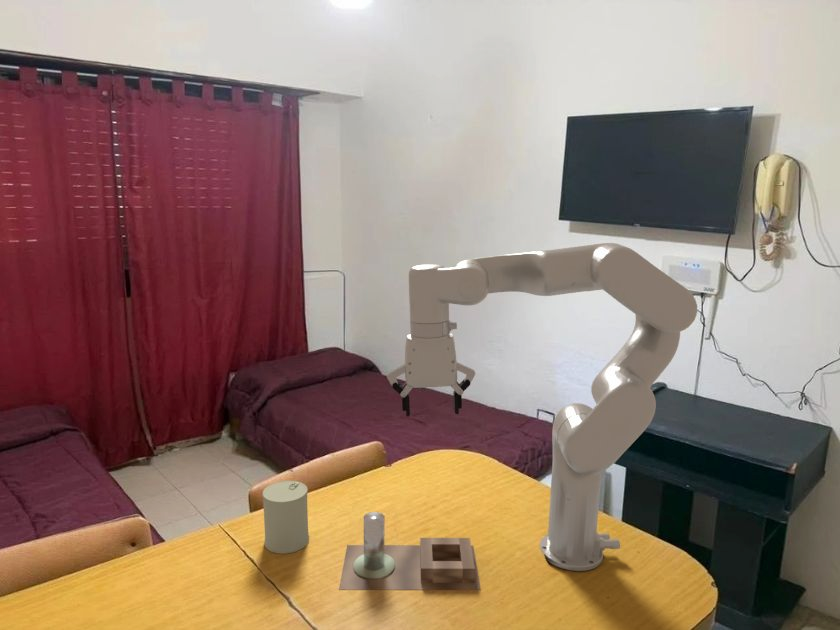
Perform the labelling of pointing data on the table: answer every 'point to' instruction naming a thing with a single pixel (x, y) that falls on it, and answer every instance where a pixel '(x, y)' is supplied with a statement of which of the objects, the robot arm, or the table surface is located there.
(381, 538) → the peg
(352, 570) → the pocket board
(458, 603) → the table surface
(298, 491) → the can
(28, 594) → the table surface
